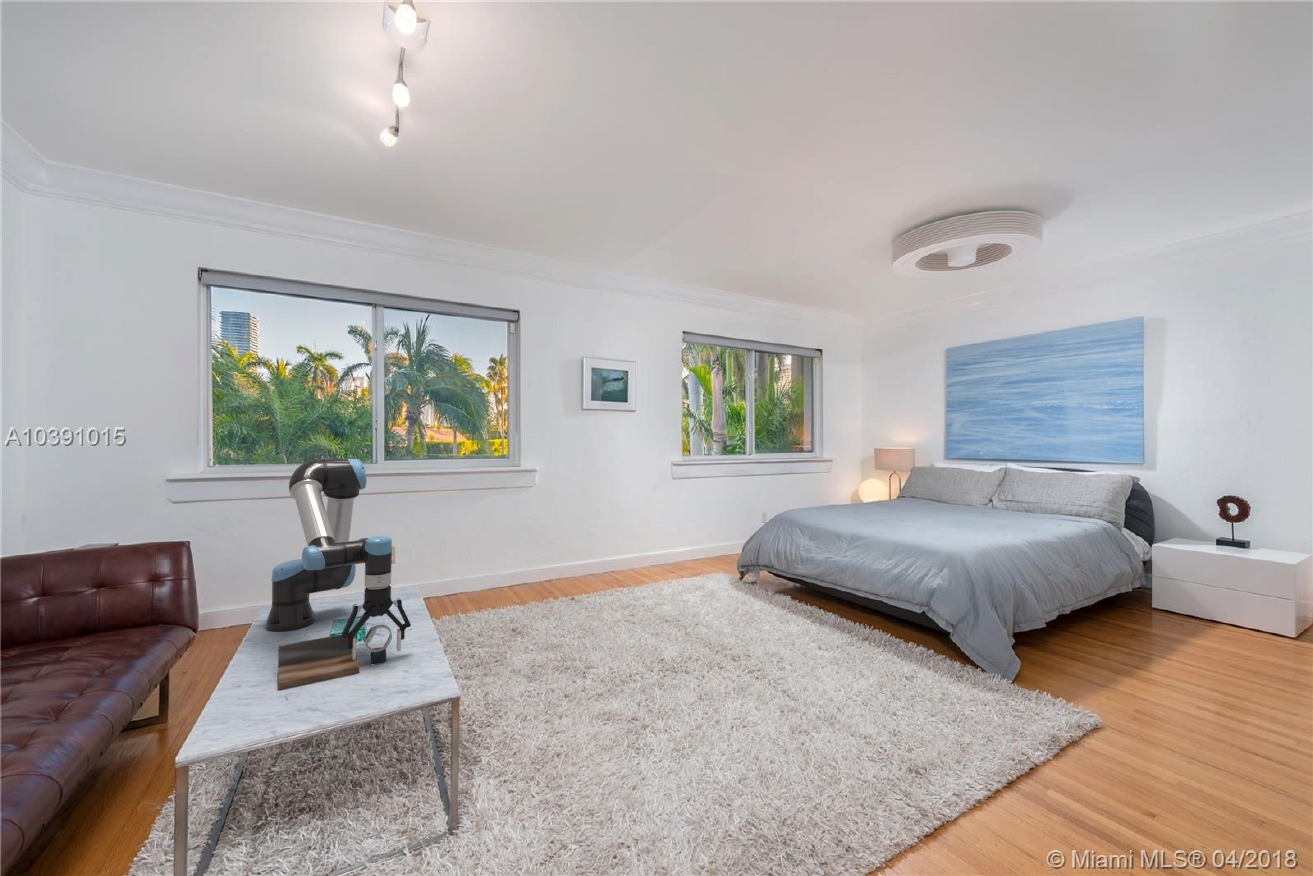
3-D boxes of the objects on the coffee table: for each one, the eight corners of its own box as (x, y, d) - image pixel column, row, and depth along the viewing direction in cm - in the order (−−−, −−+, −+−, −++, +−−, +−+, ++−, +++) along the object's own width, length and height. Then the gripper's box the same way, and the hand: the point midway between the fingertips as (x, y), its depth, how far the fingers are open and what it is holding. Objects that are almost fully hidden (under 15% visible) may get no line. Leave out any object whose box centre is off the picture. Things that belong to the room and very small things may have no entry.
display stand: (278, 672, 165) (278, 645, 165) (353, 657, 176) (353, 632, 176) (278, 690, 154) (278, 661, 153) (359, 673, 165) (359, 646, 165)
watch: (363, 659, 175) (363, 625, 175) (391, 655, 178) (391, 621, 178) (363, 666, 170) (363, 631, 170) (392, 661, 174) (392, 627, 173)
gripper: (334, 594, 164) (333, 666, 164) (421, 583, 178) (420, 650, 178) (332, 588, 170) (331, 658, 170) (416, 578, 184) (415, 642, 184)
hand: (376, 654), depth 174 cm, fingers open, 12 cm apart
